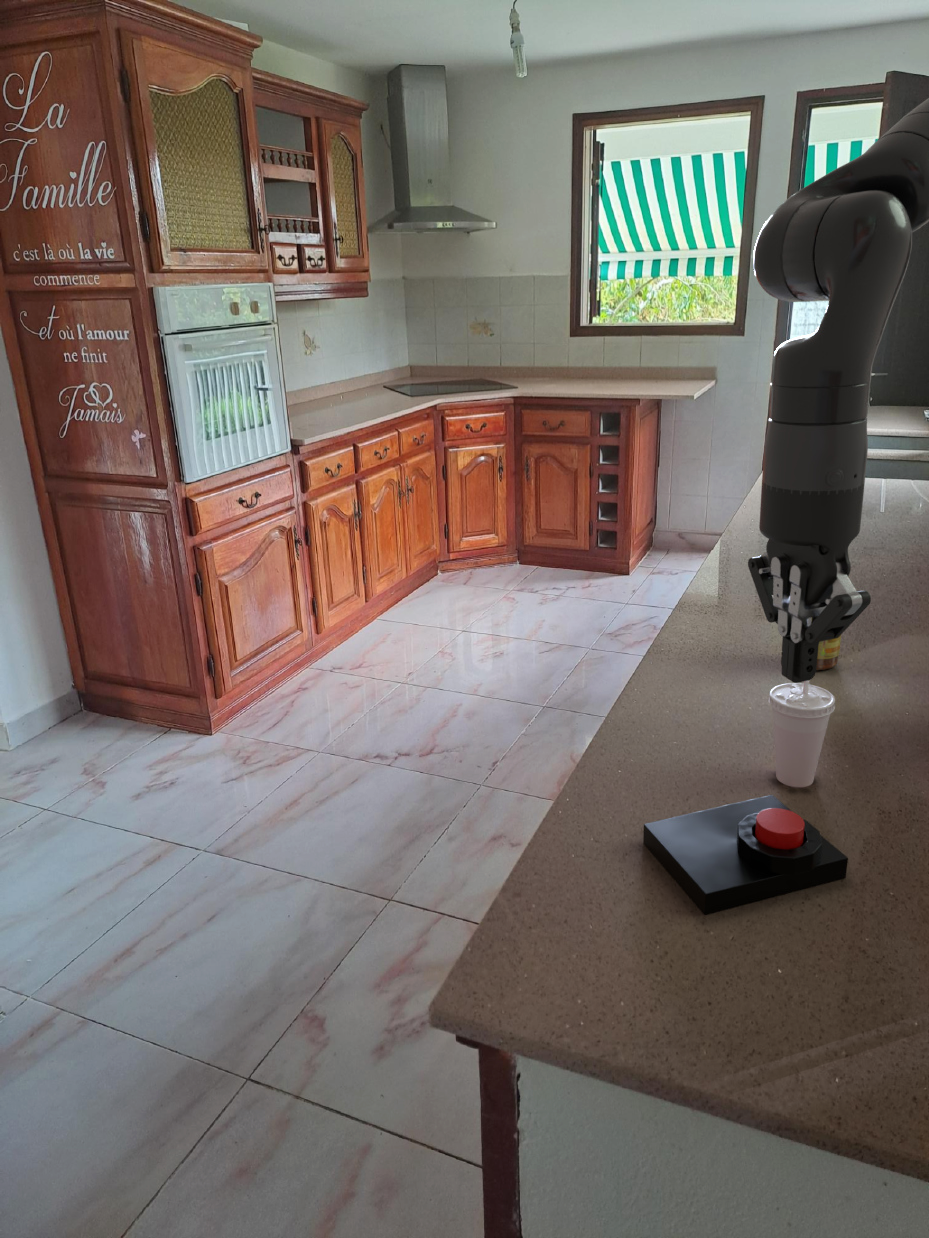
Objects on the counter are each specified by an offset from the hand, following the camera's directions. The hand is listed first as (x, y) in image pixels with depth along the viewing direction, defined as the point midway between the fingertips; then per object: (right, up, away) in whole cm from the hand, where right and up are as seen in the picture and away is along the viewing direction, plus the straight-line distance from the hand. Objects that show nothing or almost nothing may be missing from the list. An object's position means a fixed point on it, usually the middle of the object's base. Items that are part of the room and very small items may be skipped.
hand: (797, 677), depth 75 cm
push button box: (-3, -17, +6) cm, 18 cm away
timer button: (-1, -14, +3) cm, 15 cm away
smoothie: (+7, -12, +18) cm, 23 cm away
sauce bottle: (+19, -1, +45) cm, 49 cm away
